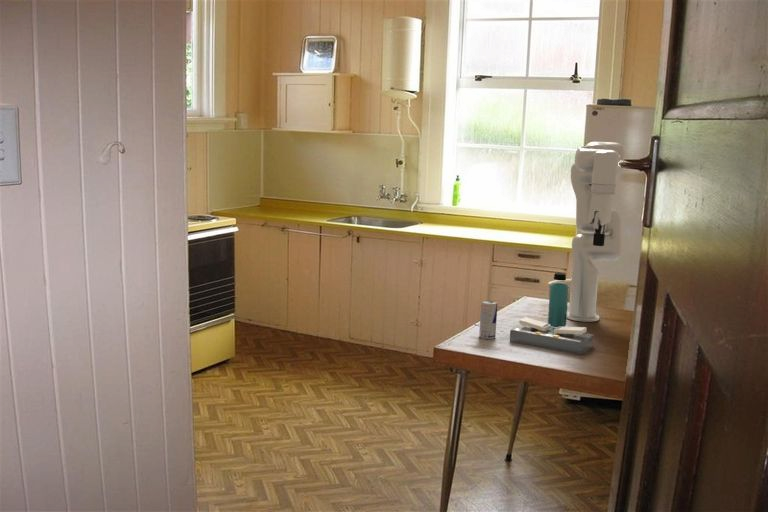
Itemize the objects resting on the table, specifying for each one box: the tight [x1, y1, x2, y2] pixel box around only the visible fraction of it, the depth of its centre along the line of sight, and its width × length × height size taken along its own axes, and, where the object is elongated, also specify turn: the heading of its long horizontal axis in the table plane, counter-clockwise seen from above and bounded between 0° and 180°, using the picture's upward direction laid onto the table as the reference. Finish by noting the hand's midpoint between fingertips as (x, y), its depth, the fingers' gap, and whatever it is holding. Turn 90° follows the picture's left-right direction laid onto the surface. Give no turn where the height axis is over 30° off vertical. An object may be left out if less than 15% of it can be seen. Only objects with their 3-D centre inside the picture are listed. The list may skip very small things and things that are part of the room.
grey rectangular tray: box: [509, 324, 595, 356], centre depth 258 cm, size 12×24×5 cm, turn 58°
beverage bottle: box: [546, 272, 570, 328], centre depth 275 cm, size 6×7×20 cm
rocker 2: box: [554, 326, 587, 334], centre depth 254 cm, size 5×9×1 cm, turn 58°
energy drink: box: [478, 300, 498, 340], centre depth 262 cm, size 5×5×12 cm
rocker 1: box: [518, 316, 551, 331], centre depth 260 cm, size 5×9×1 cm, turn 58°
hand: (598, 245), depth 259 cm, fingers closed
